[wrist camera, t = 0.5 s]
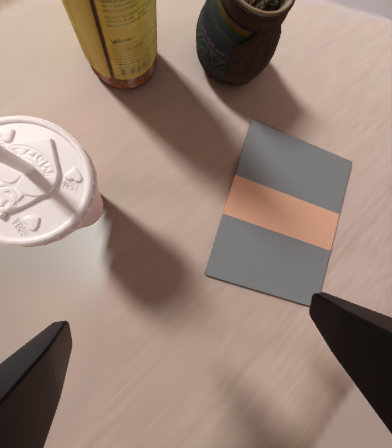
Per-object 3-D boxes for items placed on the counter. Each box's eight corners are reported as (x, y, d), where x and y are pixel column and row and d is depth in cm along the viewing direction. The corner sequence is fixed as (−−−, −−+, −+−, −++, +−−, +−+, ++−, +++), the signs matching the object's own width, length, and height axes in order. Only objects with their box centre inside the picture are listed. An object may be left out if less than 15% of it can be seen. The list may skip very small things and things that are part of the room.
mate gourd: (178, 37, 23) (199, -111, 13) (244, 20, 25) (306, -124, 15) (207, 105, 23) (250, 8, 14) (271, 84, 25) (350, -17, 15)
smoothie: (133, 195, 22) (101, 122, 8) (92, 256, 21) (-24, 295, 7) (69, 155, 21) (-92, -5, 7) (24, 217, 20) (-263, 172, 6)
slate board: (313, 307, 24) (316, 308, 24) (204, 274, 22) (205, 274, 22) (349, 162, 26) (352, 161, 26) (250, 121, 24) (252, 119, 24)
